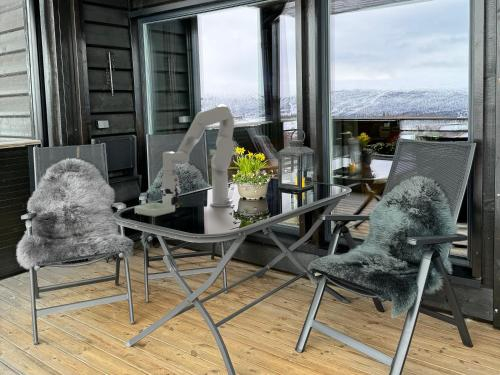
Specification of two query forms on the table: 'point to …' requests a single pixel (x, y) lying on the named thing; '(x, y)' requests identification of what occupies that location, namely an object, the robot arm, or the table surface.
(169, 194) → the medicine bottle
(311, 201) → the table surface
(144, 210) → the tray
